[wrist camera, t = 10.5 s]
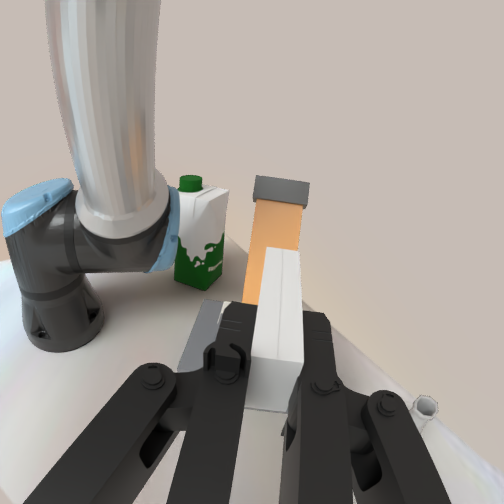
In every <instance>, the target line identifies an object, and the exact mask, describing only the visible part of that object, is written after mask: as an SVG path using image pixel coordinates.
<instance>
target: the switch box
mask: <svg viewBox="0 0 504 504" xmlns="http://www.w3.org/2000/svg"><path fill="white" fill-rule="evenodd" d="M230 303H231V302H228V301H224V302H221V301H214V300H208V299H204V301H203V304H202V306H201V309H200V311H199V314H198V316H197V319H196V321H195V324H194V326H193V329H192V331H191V334H190V336H189V339H188V342H187V344H186V347H185V349H184V352H183V354H182V357H181V360H180V362H179V365H178V367H177V371H178V373H180V372H191V371H195V370H198V369H200V368H202V367H203V352H204V350H205V348H206V347H207V346H208V345H209V344H211V343H212V342H214V341H215V339H216V336H217V332H218V329H219V325H220V322H221V319H222V315H223V312H224V309H225V308H226V307H227V306H228V305H229V304H230ZM244 408H245V409H252V410H259V411H268V412H276V413H286V414H288V408H287V410H286V412H282V411H272V410H264V409H256V408H249V407H244Z"/></svg>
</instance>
